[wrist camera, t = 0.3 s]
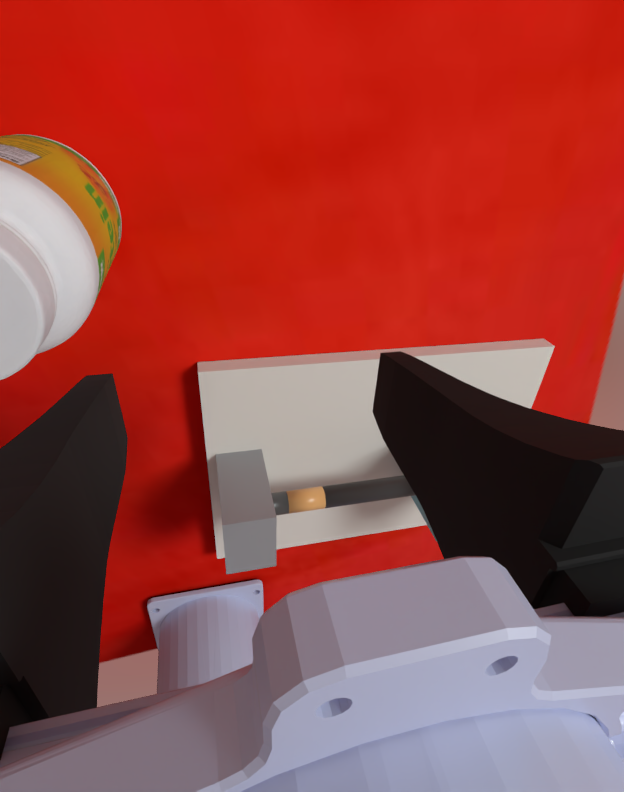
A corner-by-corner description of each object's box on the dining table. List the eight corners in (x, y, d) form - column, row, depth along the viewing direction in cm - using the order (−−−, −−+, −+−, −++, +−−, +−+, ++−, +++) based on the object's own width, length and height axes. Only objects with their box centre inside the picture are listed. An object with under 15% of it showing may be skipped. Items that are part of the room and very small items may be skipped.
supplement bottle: (132, 280, 20) (97, 405, 12) (-9, 280, 18) (-154, 421, 10) (111, 138, 17) (48, 178, 9) (-58, 126, 15) (-307, 161, 8)
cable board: (483, 504, 34) (532, 572, 30) (216, 546, 30) (222, 633, 25) (543, 338, 27) (623, 392, 22) (197, 362, 22) (201, 436, 18)
